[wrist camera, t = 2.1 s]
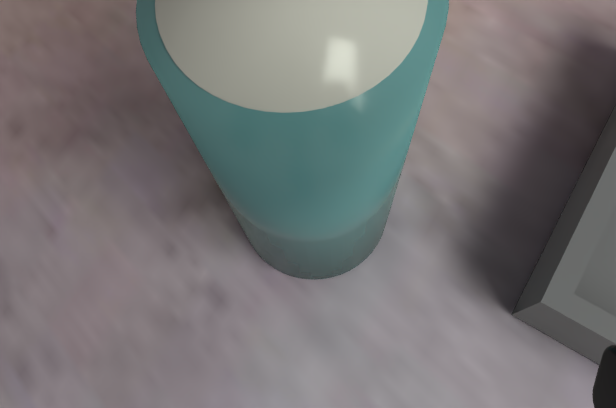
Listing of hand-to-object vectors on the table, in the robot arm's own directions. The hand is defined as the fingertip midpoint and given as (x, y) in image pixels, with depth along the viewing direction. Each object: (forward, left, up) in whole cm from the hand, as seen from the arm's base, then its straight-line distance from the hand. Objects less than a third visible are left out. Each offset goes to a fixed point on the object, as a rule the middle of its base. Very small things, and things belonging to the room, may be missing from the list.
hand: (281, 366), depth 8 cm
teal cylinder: (+6, +4, -13) cm, 15 cm away
